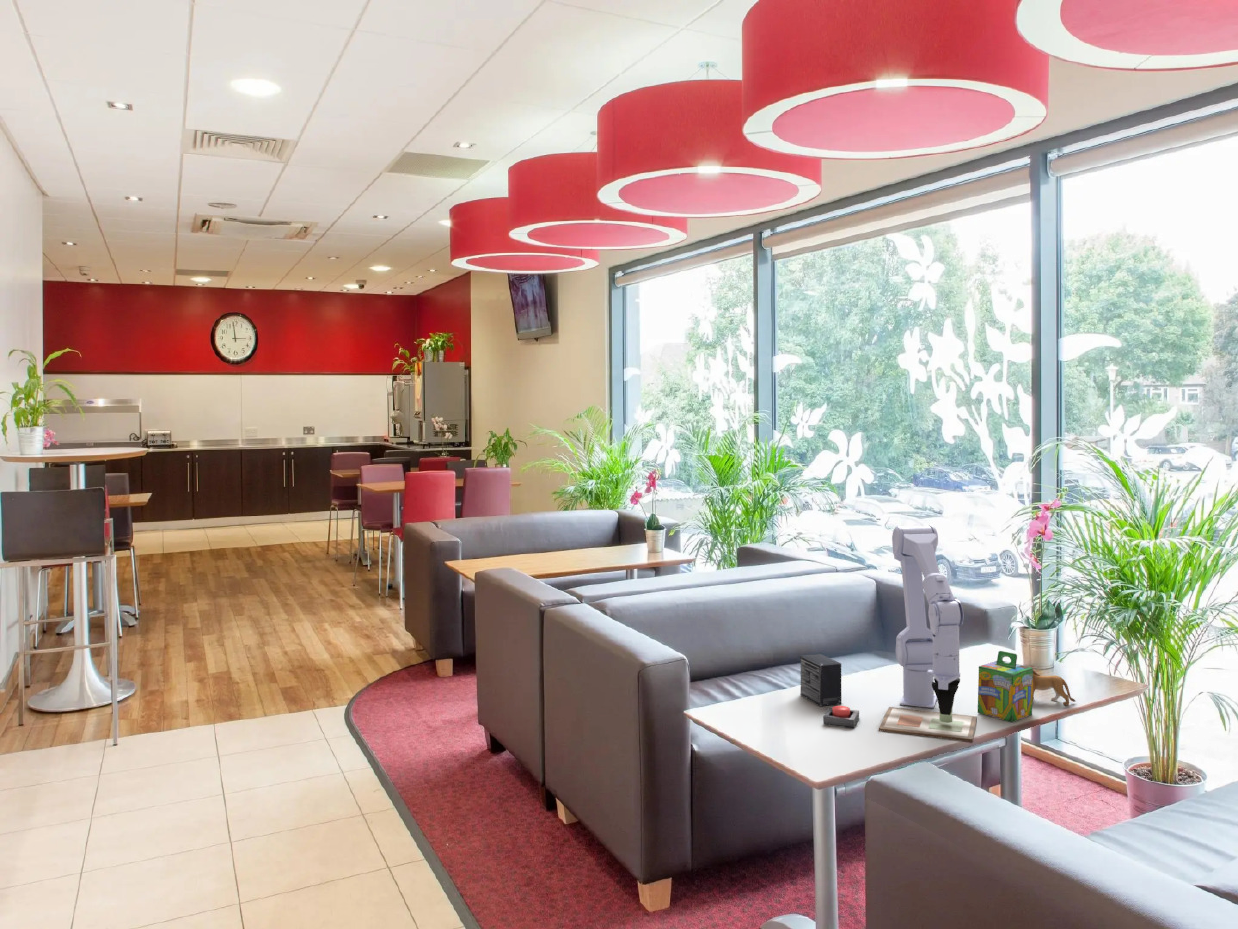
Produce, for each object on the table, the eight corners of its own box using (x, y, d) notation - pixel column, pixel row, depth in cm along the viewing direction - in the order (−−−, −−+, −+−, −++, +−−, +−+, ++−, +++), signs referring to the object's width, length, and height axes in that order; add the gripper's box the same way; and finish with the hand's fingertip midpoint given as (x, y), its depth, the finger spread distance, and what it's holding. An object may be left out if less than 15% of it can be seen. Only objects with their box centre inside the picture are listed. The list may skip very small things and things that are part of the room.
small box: (843, 704, 227) (843, 662, 226) (820, 707, 225) (820, 665, 224) (821, 692, 237) (821, 652, 236) (799, 695, 235) (798, 655, 234)
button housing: (829, 715, 219) (829, 707, 219) (859, 719, 216) (859, 710, 216) (823, 724, 212) (823, 716, 212) (853, 728, 209) (853, 720, 209)
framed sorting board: (889, 709, 222) (888, 706, 222) (976, 719, 214) (976, 715, 214) (878, 730, 208) (878, 727, 208) (972, 742, 199) (972, 738, 199)
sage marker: (939, 717, 210) (939, 683, 210) (953, 719, 209) (953, 685, 208) (938, 721, 207) (938, 687, 207) (952, 723, 206) (952, 688, 206)
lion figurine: (1012, 703, 225) (1012, 667, 224) (1009, 696, 230) (1009, 661, 229) (1077, 706, 221) (1077, 670, 220) (1073, 700, 226) (1073, 664, 225)
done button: (834, 712, 217) (834, 705, 217) (851, 714, 215) (851, 706, 215) (831, 717, 213) (830, 710, 213) (848, 719, 211) (848, 712, 211)
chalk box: (976, 713, 218) (976, 652, 217) (997, 705, 223) (997, 646, 222) (1013, 723, 210) (1013, 660, 209) (1034, 715, 216) (1034, 653, 215)
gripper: (930, 644, 215) (931, 700, 216) (923, 659, 202) (924, 719, 203) (962, 646, 212) (962, 703, 213) (957, 662, 199) (957, 723, 200)
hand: (946, 712), depth 208 cm, fingers closed on sage marker, 3 cm apart
